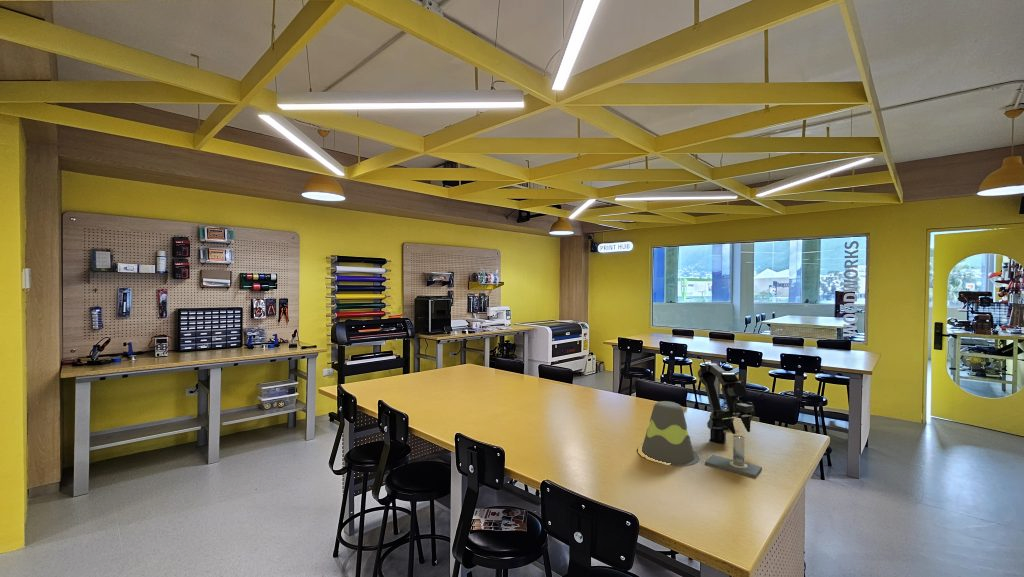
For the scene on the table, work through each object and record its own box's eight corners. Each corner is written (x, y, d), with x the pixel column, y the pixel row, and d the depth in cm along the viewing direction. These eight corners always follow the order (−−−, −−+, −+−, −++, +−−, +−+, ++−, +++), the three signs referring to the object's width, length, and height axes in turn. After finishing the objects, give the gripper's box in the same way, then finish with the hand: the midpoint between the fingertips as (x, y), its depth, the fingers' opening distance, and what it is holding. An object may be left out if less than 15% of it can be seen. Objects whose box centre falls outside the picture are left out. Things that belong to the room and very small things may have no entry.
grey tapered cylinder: (708, 453, 201) (708, 403, 201) (685, 472, 180) (686, 415, 180) (652, 439, 219) (652, 393, 220) (626, 454, 199) (626, 403, 199)
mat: (704, 464, 188) (704, 461, 188) (712, 457, 196) (712, 454, 196) (755, 477, 174) (755, 474, 175) (761, 469, 183) (761, 466, 183)
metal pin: (730, 463, 185) (731, 436, 185) (736, 461, 188) (736, 434, 188) (741, 467, 182) (741, 439, 182) (746, 465, 184) (746, 437, 184)
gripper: (730, 397, 193) (740, 433, 187) (759, 395, 200) (770, 429, 194) (712, 401, 203) (721, 435, 197) (740, 398, 209) (750, 431, 204)
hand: (741, 433), depth 198 cm, fingers open, 9 cm apart
